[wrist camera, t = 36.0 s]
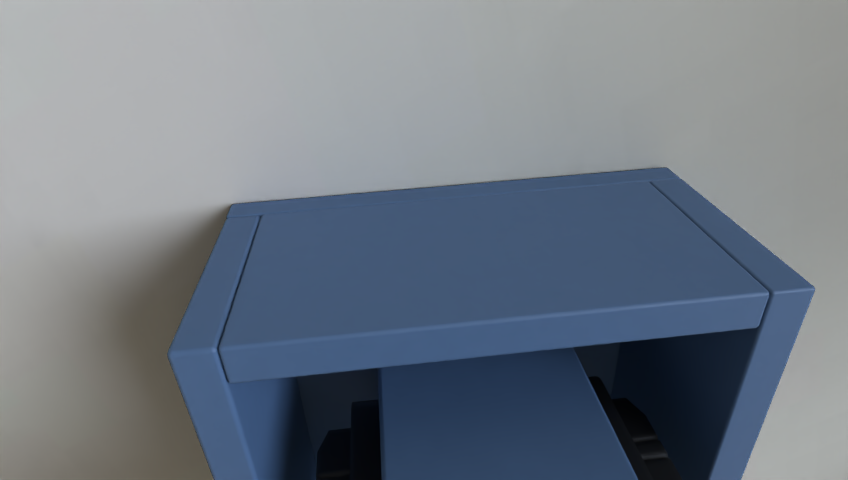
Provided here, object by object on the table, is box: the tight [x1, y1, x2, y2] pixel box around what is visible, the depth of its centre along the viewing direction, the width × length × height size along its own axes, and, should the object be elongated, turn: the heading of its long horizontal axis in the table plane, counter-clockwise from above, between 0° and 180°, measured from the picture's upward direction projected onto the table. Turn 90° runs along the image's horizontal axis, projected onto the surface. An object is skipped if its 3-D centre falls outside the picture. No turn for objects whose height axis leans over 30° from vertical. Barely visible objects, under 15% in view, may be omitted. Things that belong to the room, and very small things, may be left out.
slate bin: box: [167, 168, 815, 480], centre depth 12 cm, size 9×9×5 cm
